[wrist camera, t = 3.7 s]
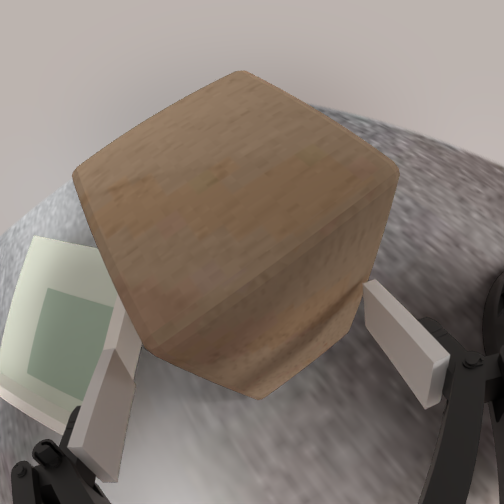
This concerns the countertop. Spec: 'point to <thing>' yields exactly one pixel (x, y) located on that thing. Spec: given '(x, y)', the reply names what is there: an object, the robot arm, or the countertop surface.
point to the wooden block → (238, 230)
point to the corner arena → (61, 331)
